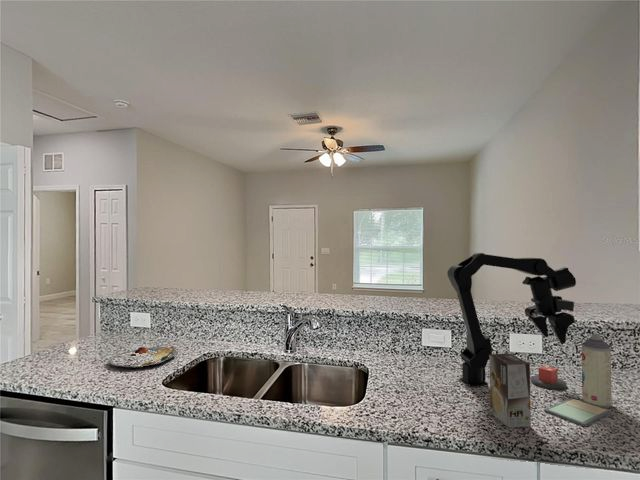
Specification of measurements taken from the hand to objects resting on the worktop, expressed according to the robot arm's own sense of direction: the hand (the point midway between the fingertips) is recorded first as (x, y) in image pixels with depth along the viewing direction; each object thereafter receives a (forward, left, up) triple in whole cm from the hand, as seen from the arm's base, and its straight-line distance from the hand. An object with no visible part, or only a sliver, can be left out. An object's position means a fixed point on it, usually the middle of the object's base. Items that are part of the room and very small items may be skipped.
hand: (554, 340), depth 124 cm
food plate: (-139, +61, -15) cm, 152 cm away
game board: (-13, -19, -14) cm, 27 cm away
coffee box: (-33, -18, -14) cm, 40 cm away
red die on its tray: (-3, 0, -14) cm, 14 cm away
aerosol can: (-2, -16, -14) cm, 22 cm away
